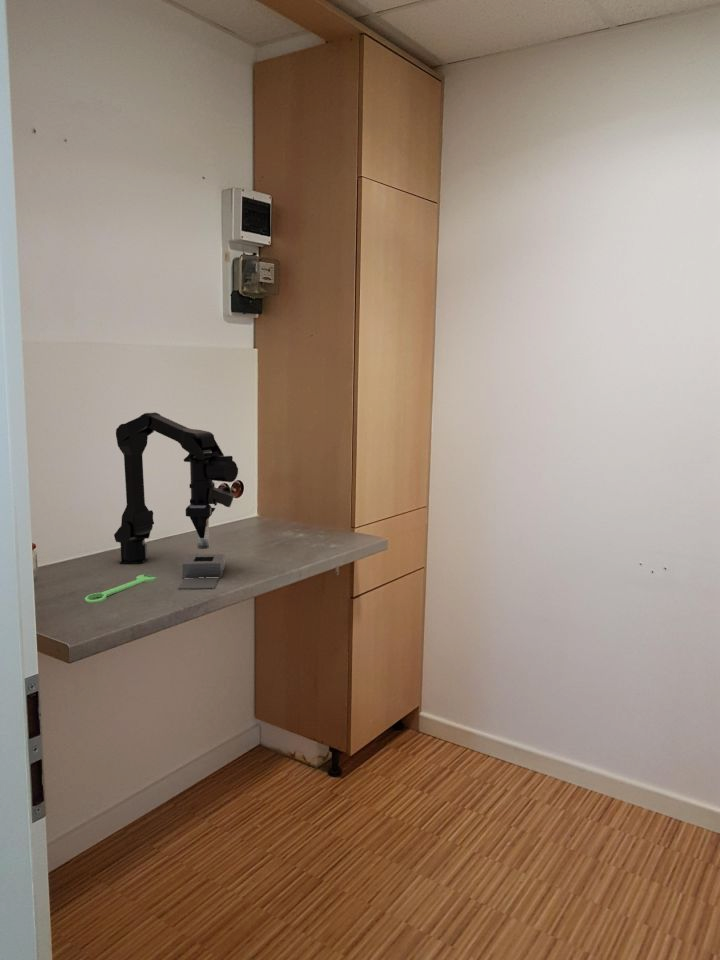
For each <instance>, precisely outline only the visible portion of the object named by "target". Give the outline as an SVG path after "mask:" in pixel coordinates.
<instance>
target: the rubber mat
mask: <svg viewBox="0 0 720 960" xmlns="http://www.w3.org/2000/svg"><path fill="white" fill-rule="evenodd" d="M217 581H219V578H193V579H183V578H182V581H181V583H180V585H179V586H178V589H191V590H211V589H210V588H215V589H216V587H217V584H218V582H217ZM216 583H217V584H216ZM215 586H216V587H215Z"/></svg>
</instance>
